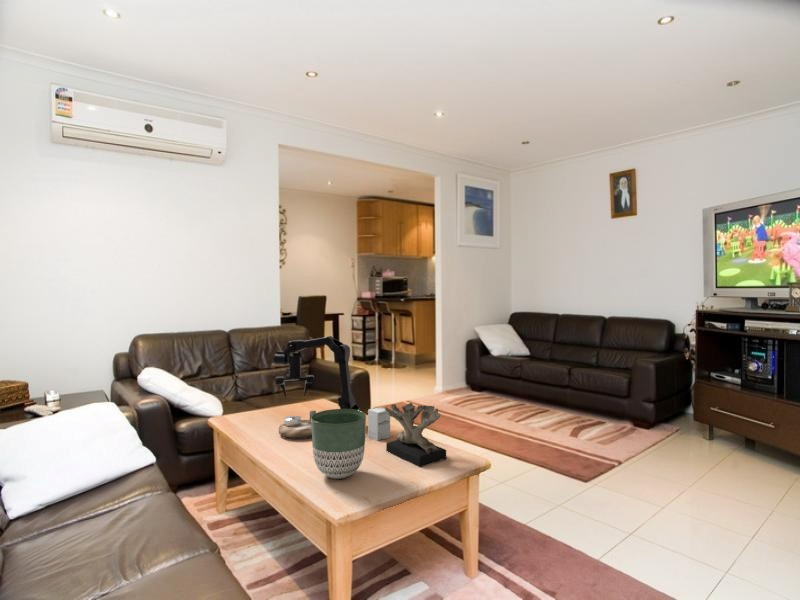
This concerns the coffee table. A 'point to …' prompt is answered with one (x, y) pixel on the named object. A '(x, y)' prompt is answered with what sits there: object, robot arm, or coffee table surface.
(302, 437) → the turntable base
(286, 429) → the turntable
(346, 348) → the robot arm
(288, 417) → the cover
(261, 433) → the coffee table surface
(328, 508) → the coffee table surface
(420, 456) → the coral
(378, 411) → the supplement box
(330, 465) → the planter
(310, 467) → the coffee table surface
